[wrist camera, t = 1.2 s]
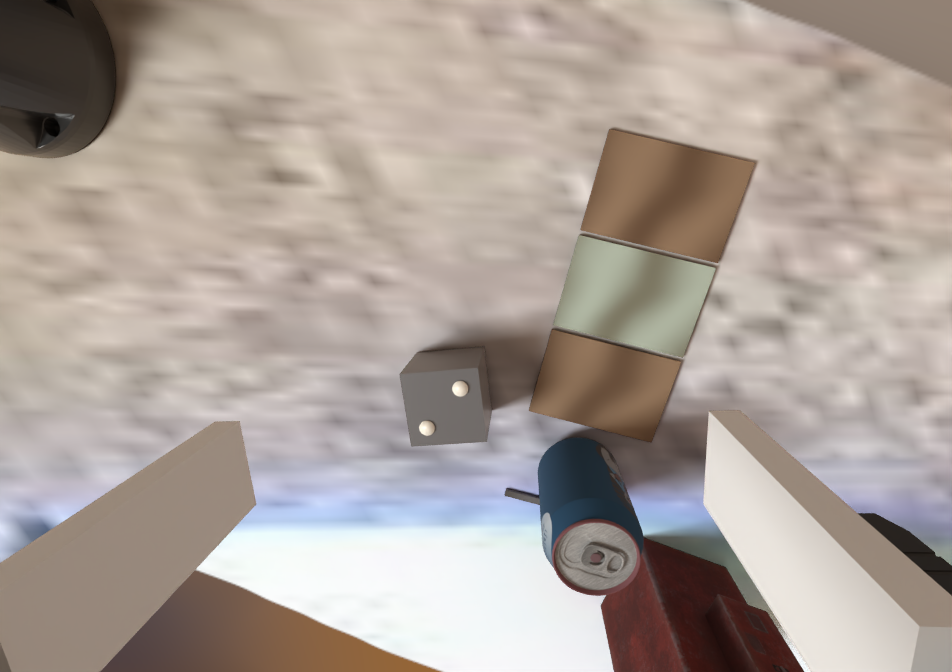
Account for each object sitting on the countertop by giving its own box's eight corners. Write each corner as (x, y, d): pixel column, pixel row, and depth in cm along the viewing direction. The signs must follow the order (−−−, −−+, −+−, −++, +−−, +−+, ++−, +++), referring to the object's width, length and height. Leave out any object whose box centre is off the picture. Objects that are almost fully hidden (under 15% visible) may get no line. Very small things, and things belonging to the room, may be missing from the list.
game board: (504, 493, 43) (504, 495, 43) (609, 129, 35) (609, 129, 35) (619, 524, 43) (620, 526, 43) (753, 163, 35) (755, 162, 34)
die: (426, 415, 42) (410, 447, 36) (417, 352, 41) (399, 374, 35) (491, 410, 41) (486, 442, 35) (484, 346, 40) (477, 368, 34)
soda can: (526, 484, 43) (528, 582, 31) (553, 420, 41) (566, 498, 29) (597, 510, 43) (624, 617, 31) (627, 446, 41) (668, 535, 29)
